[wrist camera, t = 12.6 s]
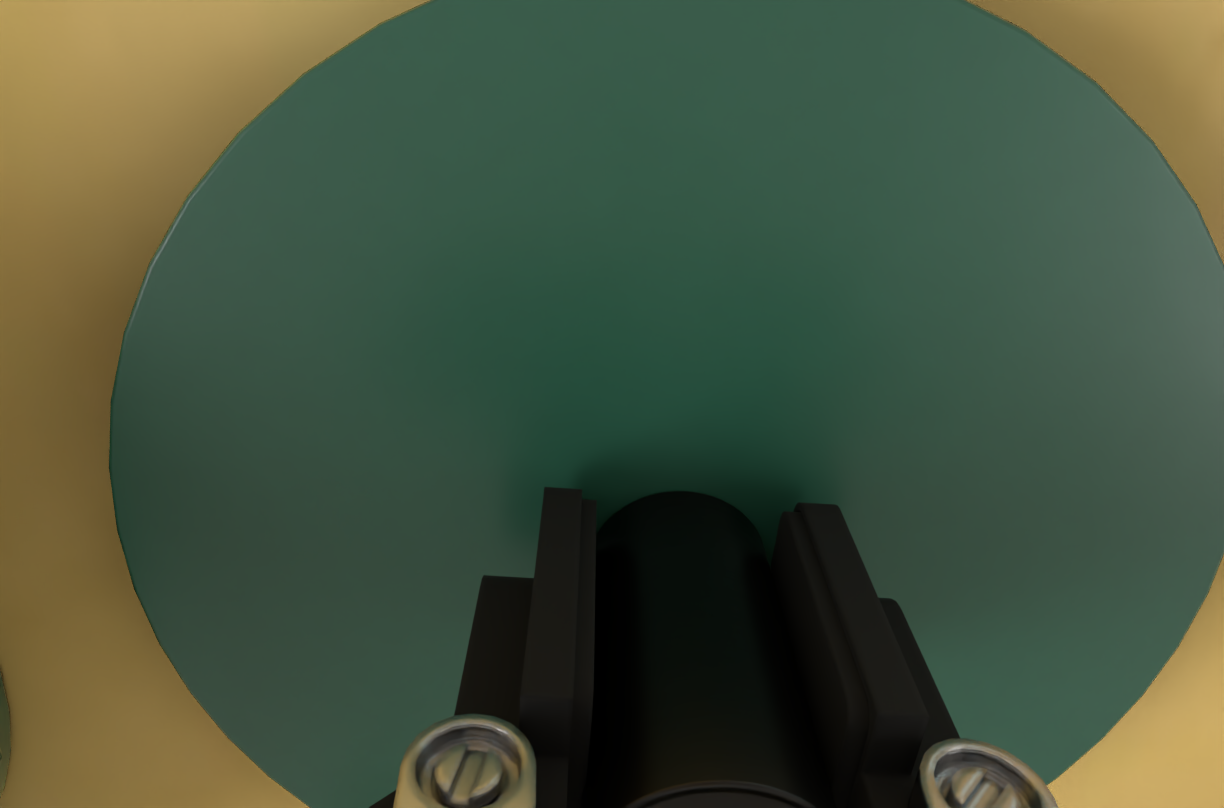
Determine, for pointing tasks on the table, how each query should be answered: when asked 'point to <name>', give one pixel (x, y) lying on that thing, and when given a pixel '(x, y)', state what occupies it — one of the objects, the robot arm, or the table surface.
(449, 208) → the lid
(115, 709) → the table surface
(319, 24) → the table surface
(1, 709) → the pot
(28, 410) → the table surface
